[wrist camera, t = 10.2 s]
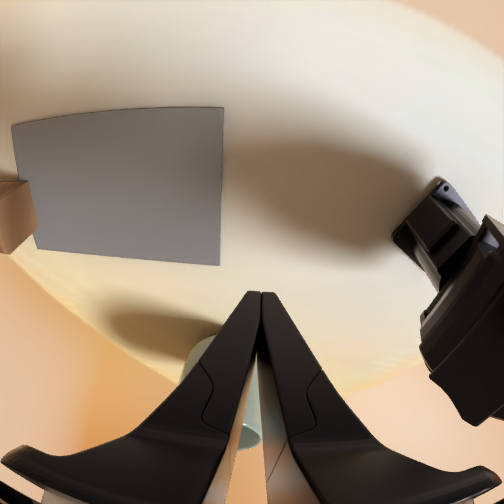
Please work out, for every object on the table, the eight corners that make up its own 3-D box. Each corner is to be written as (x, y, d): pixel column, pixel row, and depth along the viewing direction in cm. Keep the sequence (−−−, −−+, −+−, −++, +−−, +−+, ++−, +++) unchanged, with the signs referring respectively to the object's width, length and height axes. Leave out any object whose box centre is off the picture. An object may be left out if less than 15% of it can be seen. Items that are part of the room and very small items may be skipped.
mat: (223, 107, 18) (223, 108, 18) (220, 263, 25) (219, 265, 24) (14, 125, 18) (11, 126, 18) (39, 246, 25) (37, 249, 25)
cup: (174, 336, 30) (150, 422, 22) (238, 311, 28) (227, 410, 19) (218, 376, 34) (207, 454, 25) (278, 357, 31) (279, 444, 23)
